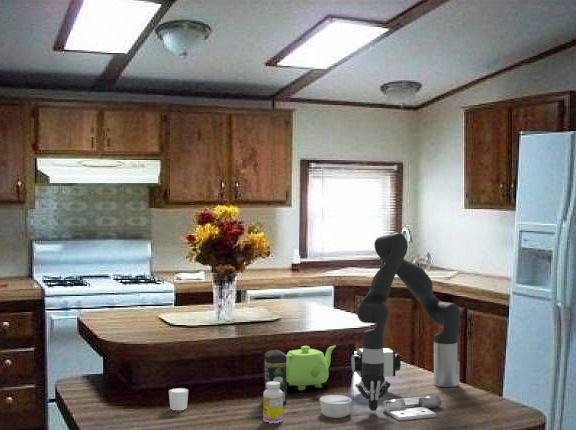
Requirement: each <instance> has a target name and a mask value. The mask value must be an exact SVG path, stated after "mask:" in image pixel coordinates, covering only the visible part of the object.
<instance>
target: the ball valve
mask: <svg viewBox="0 0 576 430" xmlns="http://www.w3.org/2000/svg"><path fill="white" fill-rule="evenodd" d="M362 351H363V348H356V352H355V354H352V355H351V370H352V372H353V373H356V374H357V375H358V376H359V377H360V378H362ZM383 351H384V377H385V378H386V377H387V378H389V377H393V378H394V377H396V373H397V372H399V371H400V370H401V367H402V366H401V365H402V364H401V363H402V362H401V356H400V354H399V352H398V353H397V352H396V351H395V350H393V349H392V348H390V347H389V348H386V347H385V348H384V347H383ZM385 380H386V379H385ZM386 381H387V382H389V381H388V380H386ZM363 386H364V384H363ZM381 387H382V385H381ZM381 387H380V388H381ZM363 389H364V390H365V392H367V388H366V387H365V386H364V388H363Z"/></svg>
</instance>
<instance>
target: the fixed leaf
mask: <svg viewBox="0 0 576 430" xmlns="http://www.w3.org/2000/svg"><path fill="white" fill-rule="evenodd" d="M396 399H397V398H395V399H394V398H393V399H391V400H396ZM401 399H403V400H404V401H405V405H406V407H405V409H409V408H419V407H425V408H427V409H434V408H435V409H436V408H441V407H442V399H441V397H440V396H439V395H433V396H432V395H431V396H415V397H414V396H413V397H405V398H404V397H403V398H401Z"/></svg>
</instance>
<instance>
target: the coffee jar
mask: <svg viewBox="0 0 576 430" xmlns="http://www.w3.org/2000/svg"><path fill="white" fill-rule="evenodd" d="M286 355H287V354H286V353H285V352H284V351H281V350H280V349H271V350H270V349H269V350H268V351H266V352H265V353H264V391H265V390H267V387H266V383H267V382H271V381H276V382H280V390H281V391H282V392H283V404H284V403H287V400H288V392H287V391H288V390H287V383H288V382H287V374H286V368H287V358H286V357H287V356H286Z"/></svg>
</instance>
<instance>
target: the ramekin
mask: <svg viewBox="0 0 576 430" xmlns="http://www.w3.org/2000/svg"><path fill="white" fill-rule="evenodd" d="M352 402H353V400H352V398H351V397H349V396H347V395H342V394H329V395H323V396H321V397H320V398H319V403H320V408H321V409H320V410H321V413H322V415H323V416H324V417H328V418H334V419H335V418H336V419H340V418H345V417H347V416H348V415H349V414H350V413H351V408H352V407H351V406H352Z"/></svg>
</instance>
